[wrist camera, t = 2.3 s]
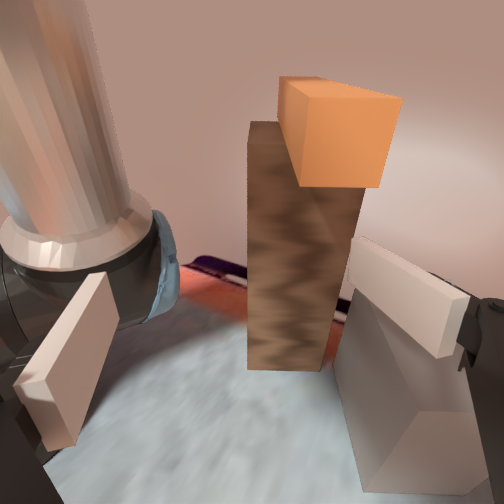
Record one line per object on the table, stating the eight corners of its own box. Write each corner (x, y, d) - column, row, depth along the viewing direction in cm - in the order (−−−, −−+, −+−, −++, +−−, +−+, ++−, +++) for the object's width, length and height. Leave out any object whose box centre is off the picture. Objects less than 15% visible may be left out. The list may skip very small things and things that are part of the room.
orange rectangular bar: (299, 186, 14) (309, 97, 12) (277, 117, 32) (279, 76, 30) (378, 187, 14) (403, 98, 12) (311, 117, 32) (316, 77, 30)
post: (247, 369, 39) (247, 143, 22) (249, 315, 47) (250, 121, 30) (319, 371, 38) (376, 145, 22) (309, 316, 47) (344, 122, 30)
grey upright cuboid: (363, 492, 28) (419, 410, 19) (332, 365, 39) (358, 277, 30) (464, 495, 28) (570, 415, 18) (404, 367, 39) (451, 279, 30)
